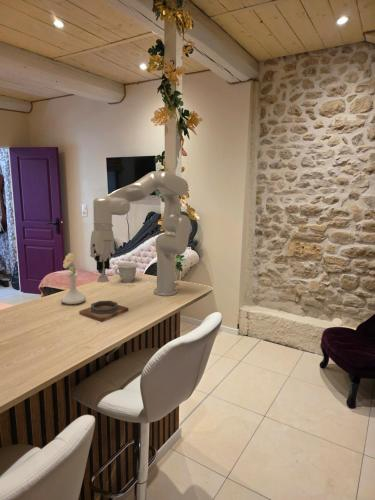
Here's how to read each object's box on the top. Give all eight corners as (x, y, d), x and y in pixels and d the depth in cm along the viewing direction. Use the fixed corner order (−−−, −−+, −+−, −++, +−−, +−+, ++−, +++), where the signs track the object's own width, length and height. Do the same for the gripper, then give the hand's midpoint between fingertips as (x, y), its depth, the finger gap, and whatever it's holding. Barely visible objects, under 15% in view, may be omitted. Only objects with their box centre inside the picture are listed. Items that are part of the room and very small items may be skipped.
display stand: (106, 304, 159) (106, 297, 158) (128, 310, 152) (128, 303, 151) (79, 314, 146) (79, 306, 145) (101, 322, 138) (101, 314, 138)
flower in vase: (61, 299, 164) (59, 249, 160) (85, 297, 168) (84, 248, 163) (60, 308, 152) (57, 254, 147) (86, 306, 156) (84, 253, 151)
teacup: (109, 281, 196) (108, 265, 194) (128, 277, 207) (128, 261, 205) (122, 286, 188) (122, 269, 186) (141, 281, 200) (141, 264, 198)
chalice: (96, 283, 141) (96, 241, 138) (92, 279, 147) (92, 239, 144) (113, 282, 144) (113, 240, 141) (109, 278, 150) (109, 238, 147)
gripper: (110, 225, 150) (111, 265, 154) (81, 228, 137) (82, 271, 140) (123, 226, 146) (122, 267, 150) (93, 229, 133) (94, 274, 136)
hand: (103, 269), depth 145 cm, fingers closed on chalice, 3 cm apart
